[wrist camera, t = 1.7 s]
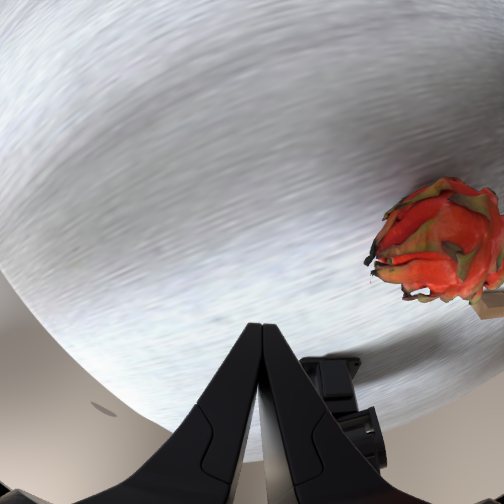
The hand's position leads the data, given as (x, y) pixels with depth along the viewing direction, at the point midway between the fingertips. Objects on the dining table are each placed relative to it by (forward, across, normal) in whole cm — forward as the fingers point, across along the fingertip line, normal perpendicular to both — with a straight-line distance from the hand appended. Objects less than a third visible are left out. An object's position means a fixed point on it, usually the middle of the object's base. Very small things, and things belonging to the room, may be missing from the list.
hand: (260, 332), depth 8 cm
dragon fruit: (+11, -12, 0) cm, 16 cm away
